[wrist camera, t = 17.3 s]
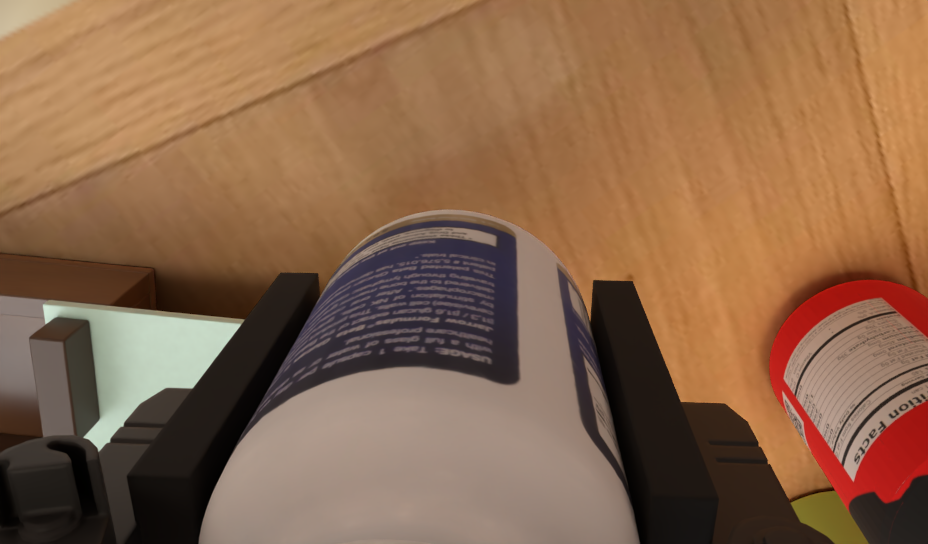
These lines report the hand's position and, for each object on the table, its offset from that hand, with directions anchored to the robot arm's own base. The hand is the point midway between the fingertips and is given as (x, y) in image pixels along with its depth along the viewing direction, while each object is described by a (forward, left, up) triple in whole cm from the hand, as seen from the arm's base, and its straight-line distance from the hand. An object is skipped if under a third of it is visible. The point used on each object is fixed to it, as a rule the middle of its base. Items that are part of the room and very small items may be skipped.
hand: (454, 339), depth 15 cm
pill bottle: (0, 0, -1) cm, 1 cm away
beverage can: (+5, +14, -13) cm, 20 cm away
